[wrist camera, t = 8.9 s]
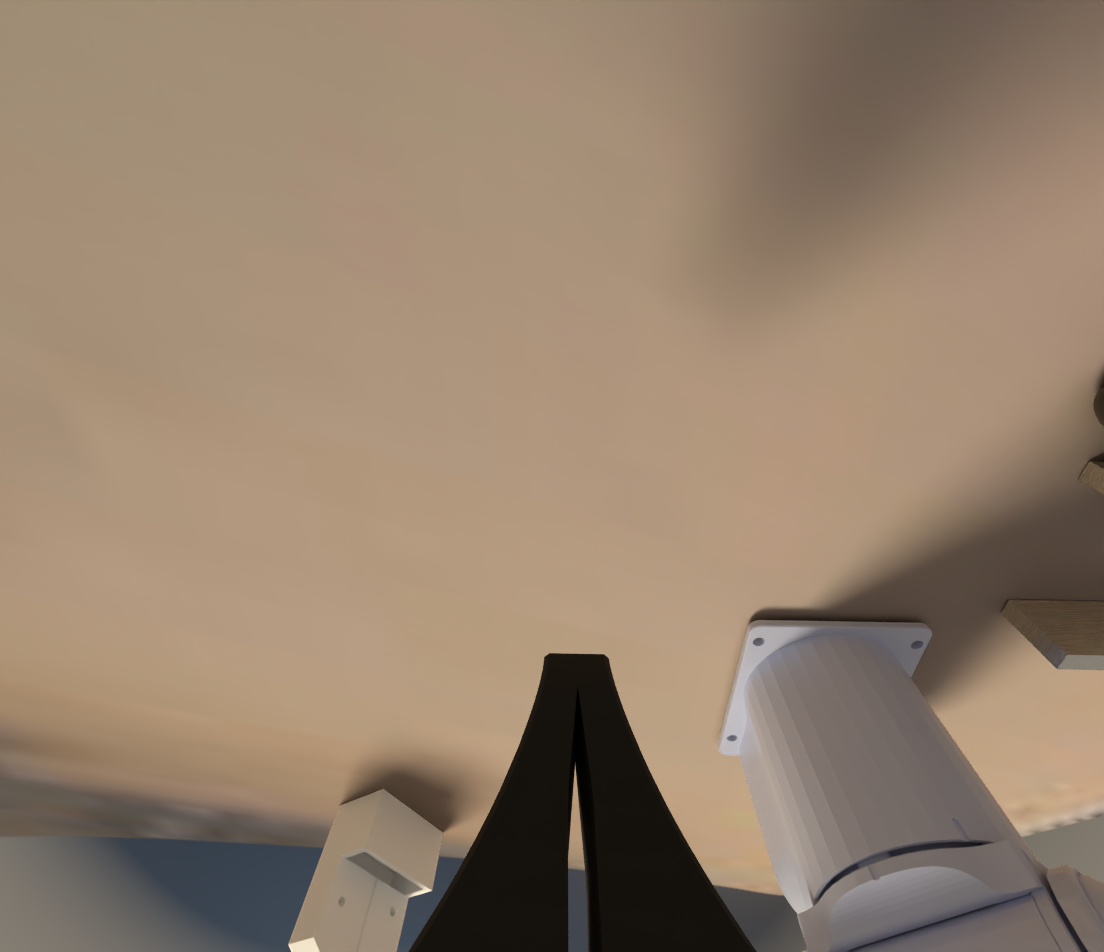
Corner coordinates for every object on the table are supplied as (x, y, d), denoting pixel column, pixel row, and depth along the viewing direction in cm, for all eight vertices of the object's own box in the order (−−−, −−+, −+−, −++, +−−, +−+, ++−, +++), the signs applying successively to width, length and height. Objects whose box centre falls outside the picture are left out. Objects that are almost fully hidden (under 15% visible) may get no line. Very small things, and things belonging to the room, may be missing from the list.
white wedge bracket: (433, 919, 34) (343, 1073, 25) (368, 776, 35) (261, 881, 26) (477, 907, 33) (398, 1064, 24) (410, 760, 34) (311, 863, 25)
